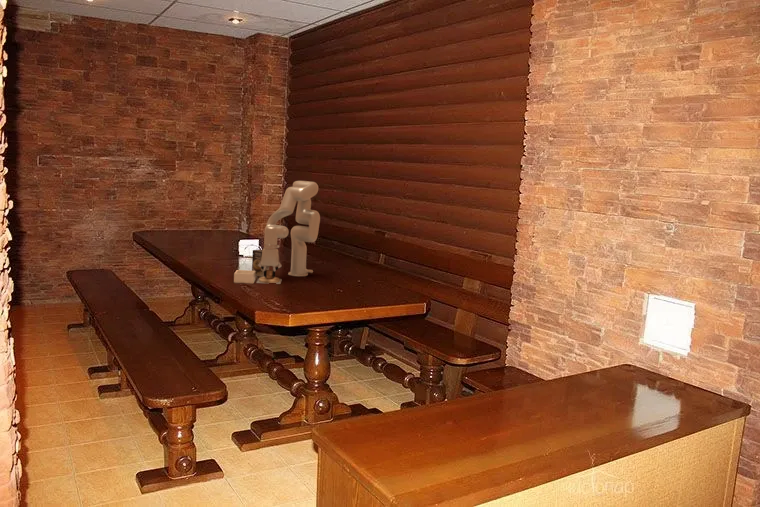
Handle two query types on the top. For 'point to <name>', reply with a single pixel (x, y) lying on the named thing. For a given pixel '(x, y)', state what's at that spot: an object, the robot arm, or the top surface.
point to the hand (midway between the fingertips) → (269, 277)
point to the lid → (269, 277)
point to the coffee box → (255, 261)
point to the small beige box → (244, 276)
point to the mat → (276, 283)
